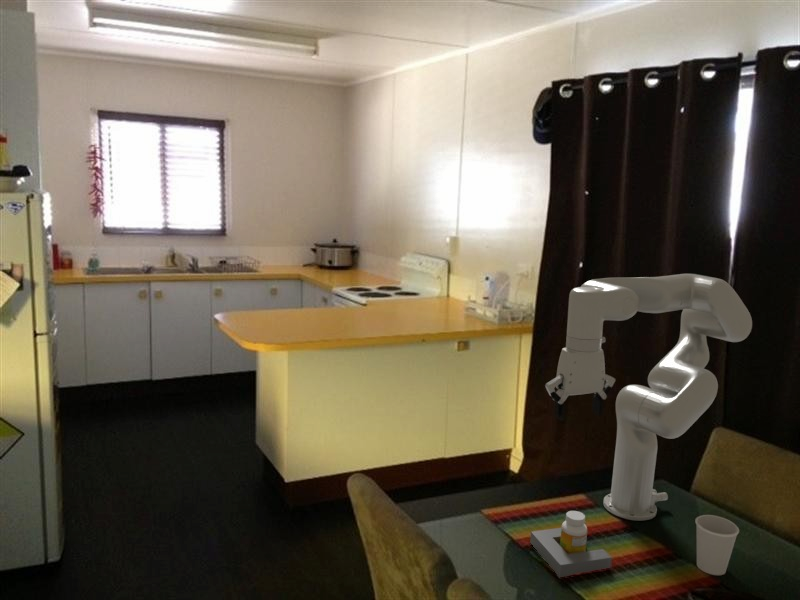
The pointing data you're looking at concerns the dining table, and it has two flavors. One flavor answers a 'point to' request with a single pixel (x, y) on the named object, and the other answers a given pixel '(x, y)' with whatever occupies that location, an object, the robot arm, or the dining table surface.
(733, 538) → the dixie cup
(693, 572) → the dining table surface
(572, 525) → the supplement bottle
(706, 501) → the dining table surface
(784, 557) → the dining table surface
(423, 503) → the dining table surface
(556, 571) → the side entry holder
